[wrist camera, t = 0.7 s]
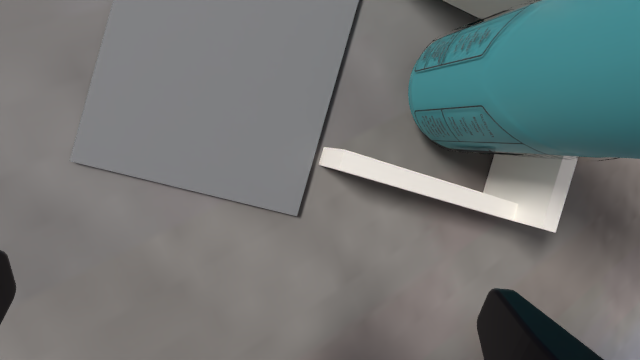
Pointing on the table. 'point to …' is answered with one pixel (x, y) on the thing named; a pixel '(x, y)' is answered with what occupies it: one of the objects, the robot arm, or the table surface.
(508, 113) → the beverage bottle
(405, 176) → the open-sided box
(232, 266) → the table surface
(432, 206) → the table surface
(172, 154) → the mat
